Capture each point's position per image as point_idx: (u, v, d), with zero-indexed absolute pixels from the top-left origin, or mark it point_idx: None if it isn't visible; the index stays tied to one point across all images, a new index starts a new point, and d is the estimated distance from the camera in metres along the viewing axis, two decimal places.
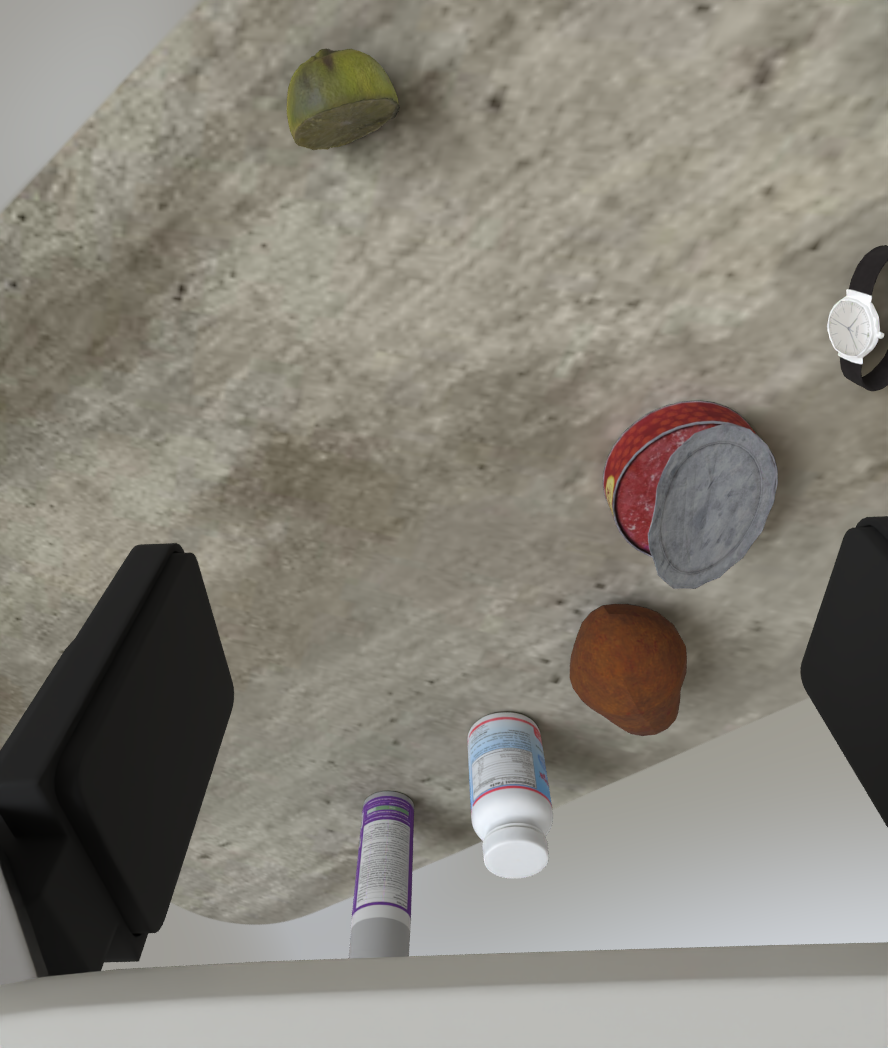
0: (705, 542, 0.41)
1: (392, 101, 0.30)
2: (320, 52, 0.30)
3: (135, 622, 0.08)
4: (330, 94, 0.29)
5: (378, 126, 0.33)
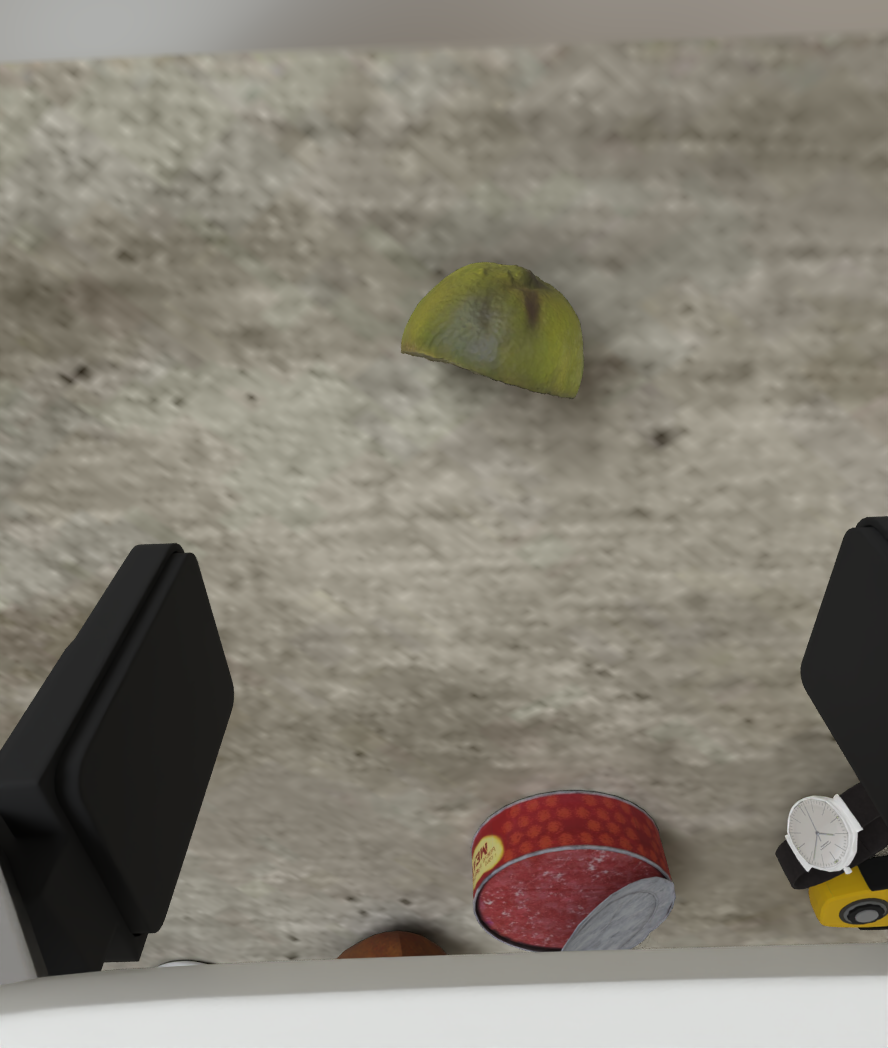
0: None
1: None
2: (522, 275, 0.18)
3: (135, 622, 0.08)
4: (511, 363, 0.17)
5: None
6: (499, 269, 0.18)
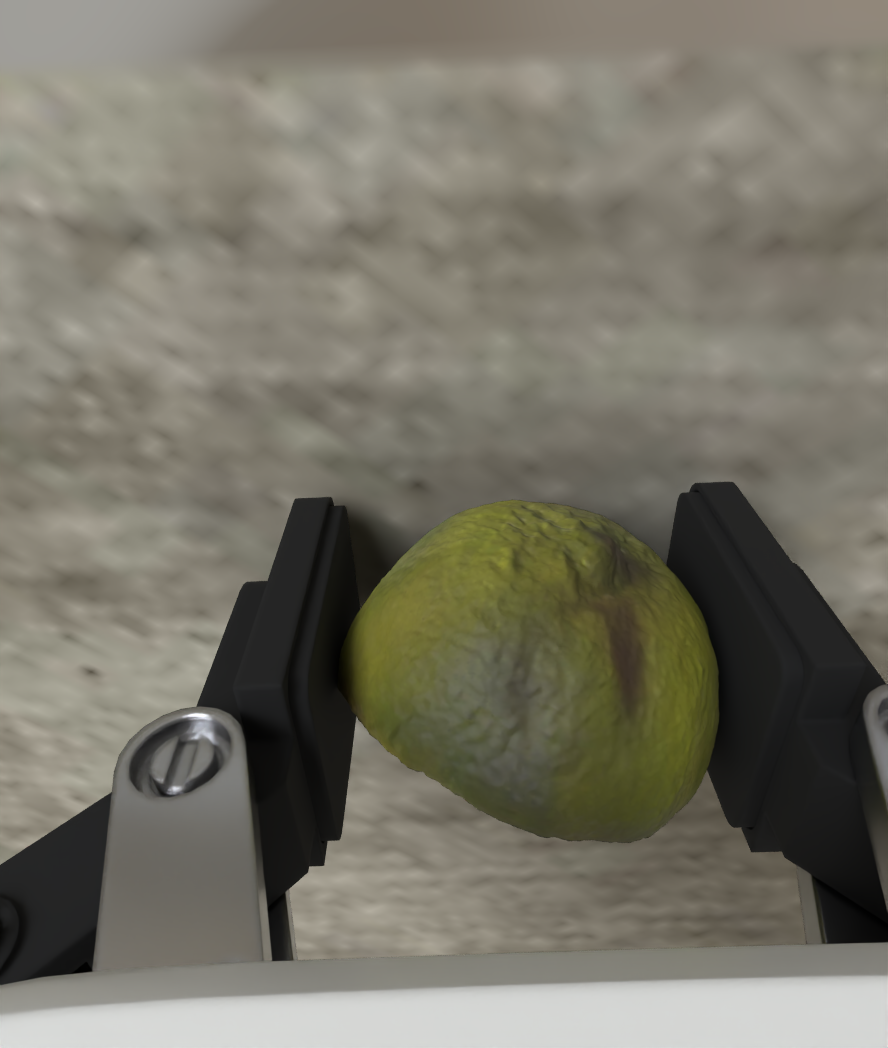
0: None
1: None
2: (597, 561, 0.08)
3: (317, 561, 0.09)
4: (582, 806, 0.07)
5: None
6: (545, 546, 0.08)
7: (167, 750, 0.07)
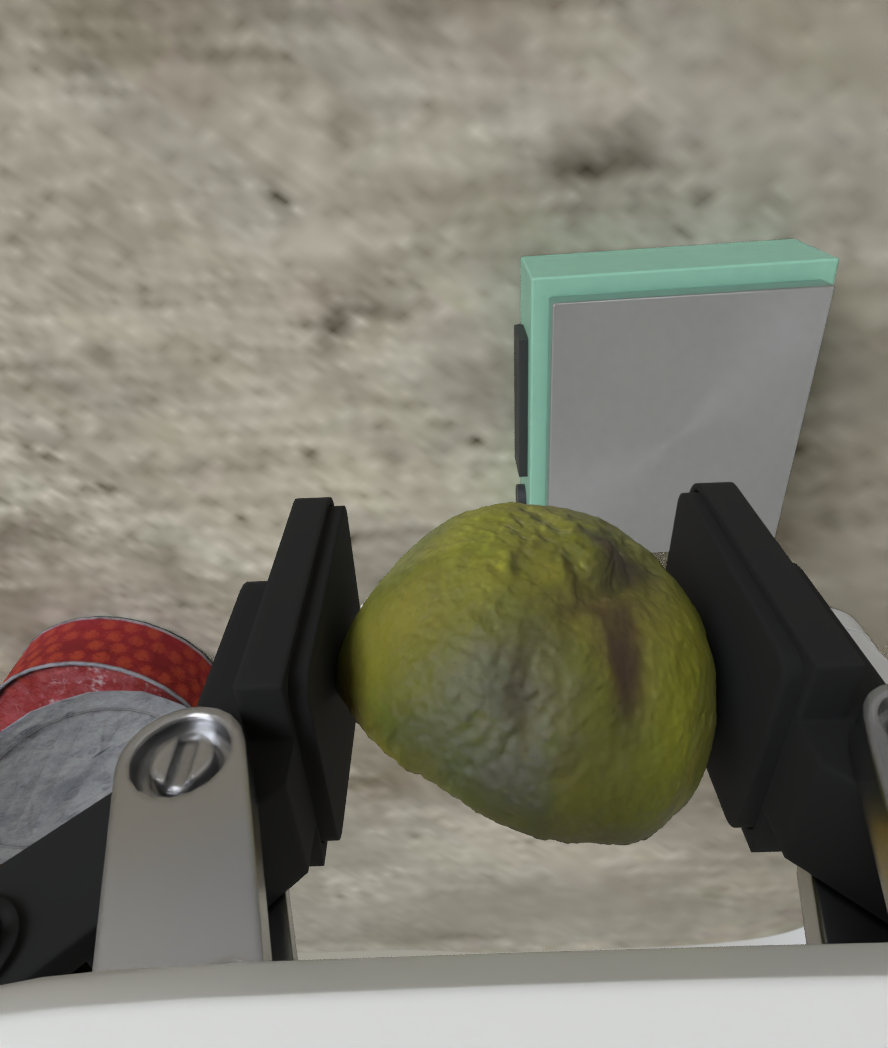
0: (69, 815, 0.30)
1: None
2: (594, 564, 0.08)
3: (317, 561, 0.09)
4: (579, 809, 0.07)
5: None
6: (543, 548, 0.08)
7: (167, 750, 0.07)
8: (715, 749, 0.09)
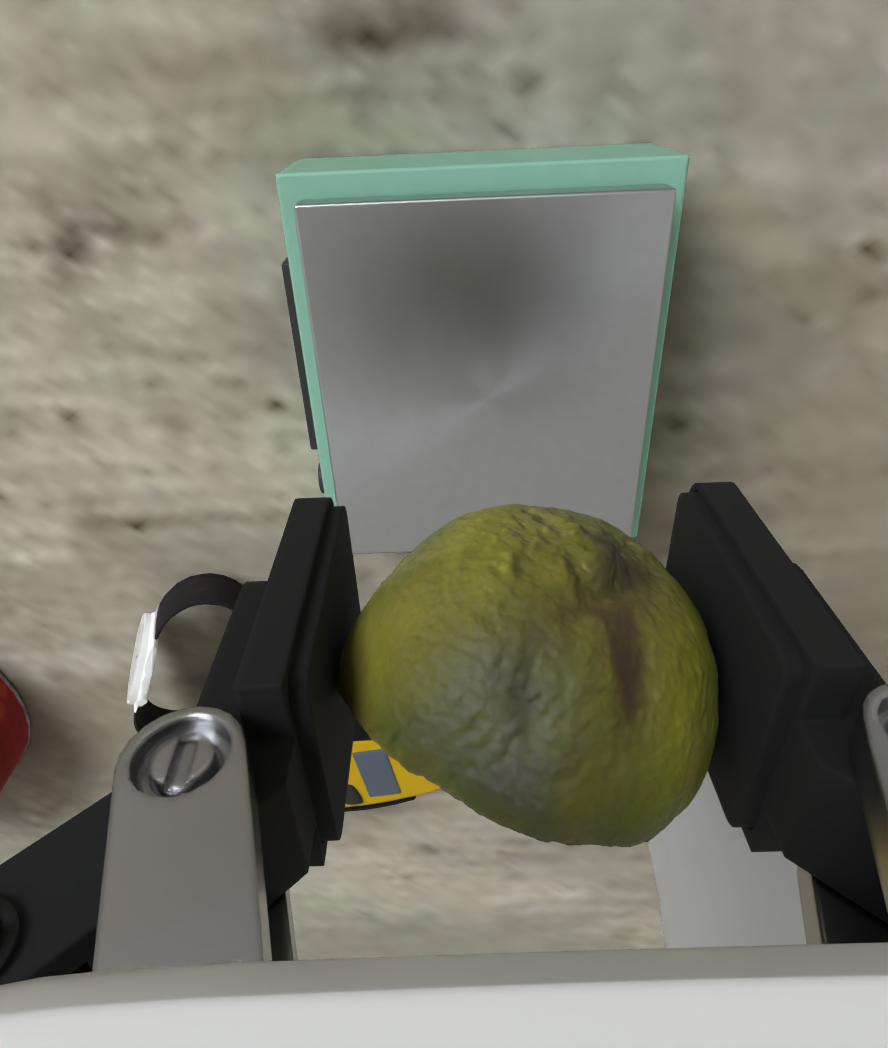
0: None
1: None
2: (596, 566, 0.08)
3: (317, 561, 0.09)
4: (582, 811, 0.07)
5: None
6: (545, 550, 0.08)
7: (167, 750, 0.07)
8: (715, 749, 0.09)
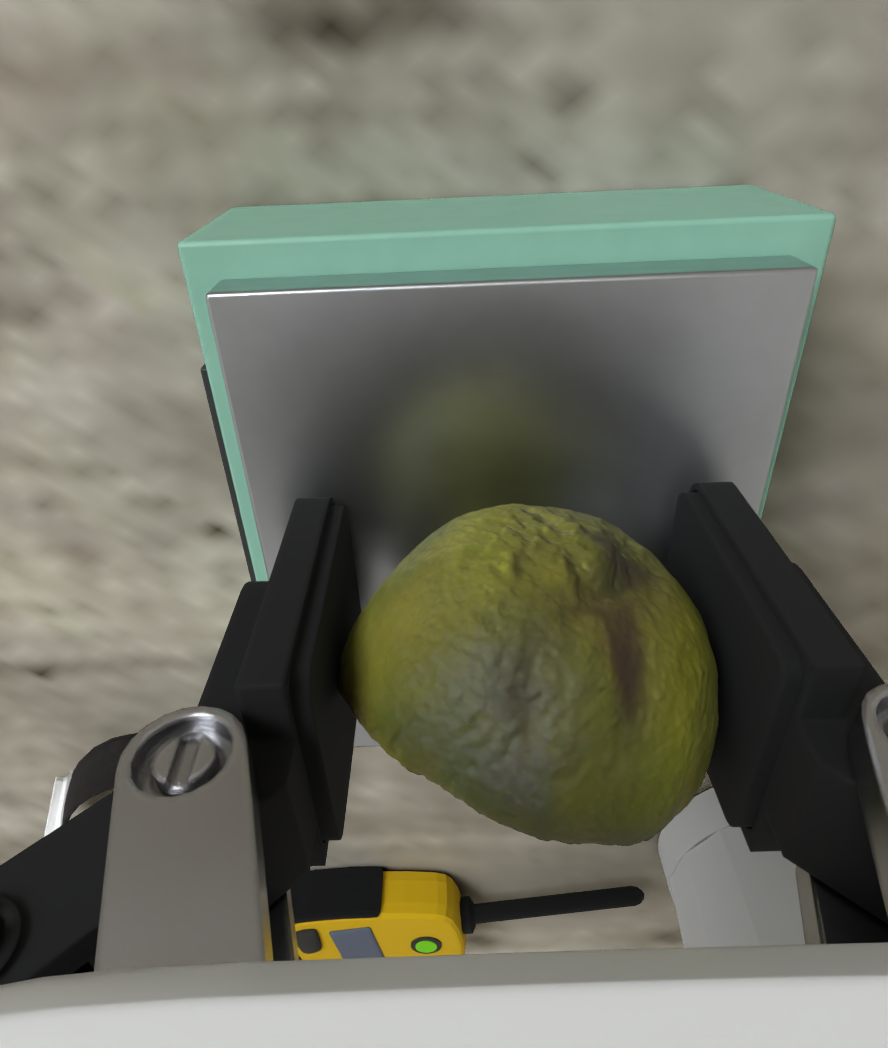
0: None
1: None
2: (597, 565, 0.08)
3: (318, 561, 0.09)
4: (582, 809, 0.07)
5: None
6: (545, 550, 0.08)
7: (169, 750, 0.07)
8: (714, 749, 0.09)
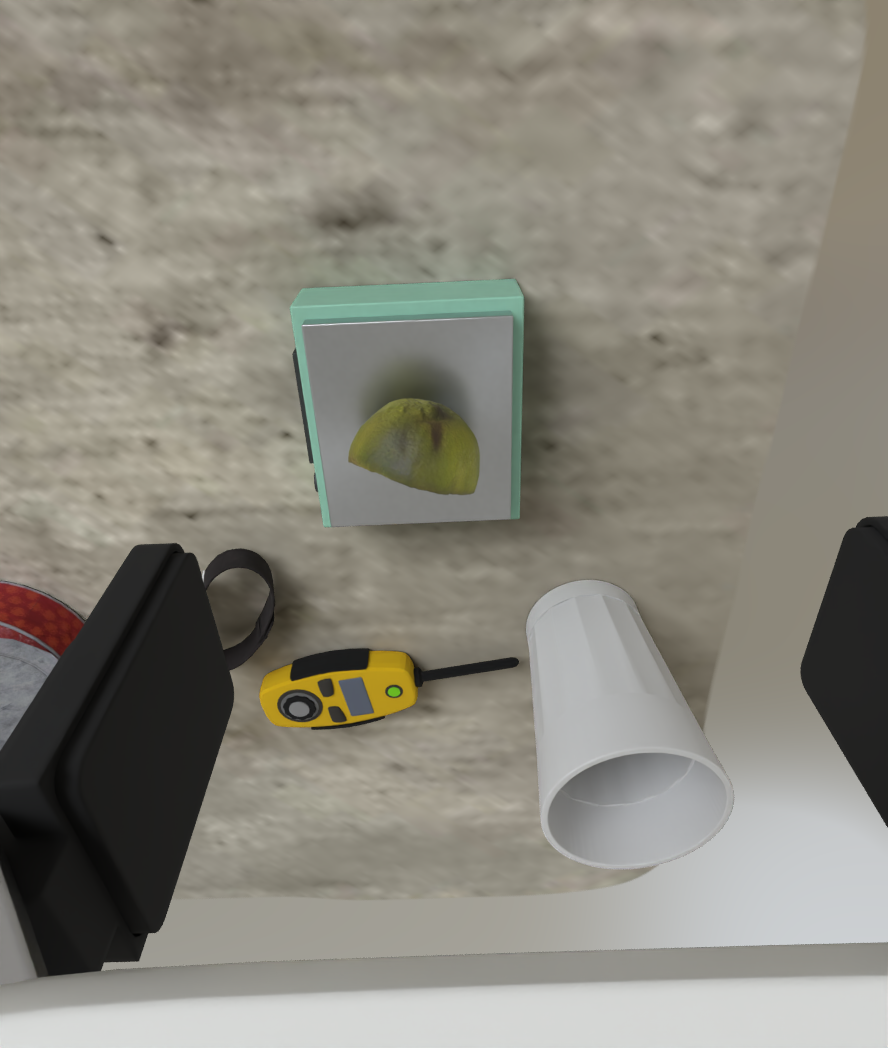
0: None
1: None
2: (431, 411, 0.25)
3: (135, 622, 0.08)
4: (421, 476, 0.24)
5: None
6: (415, 406, 0.25)
7: None
8: None
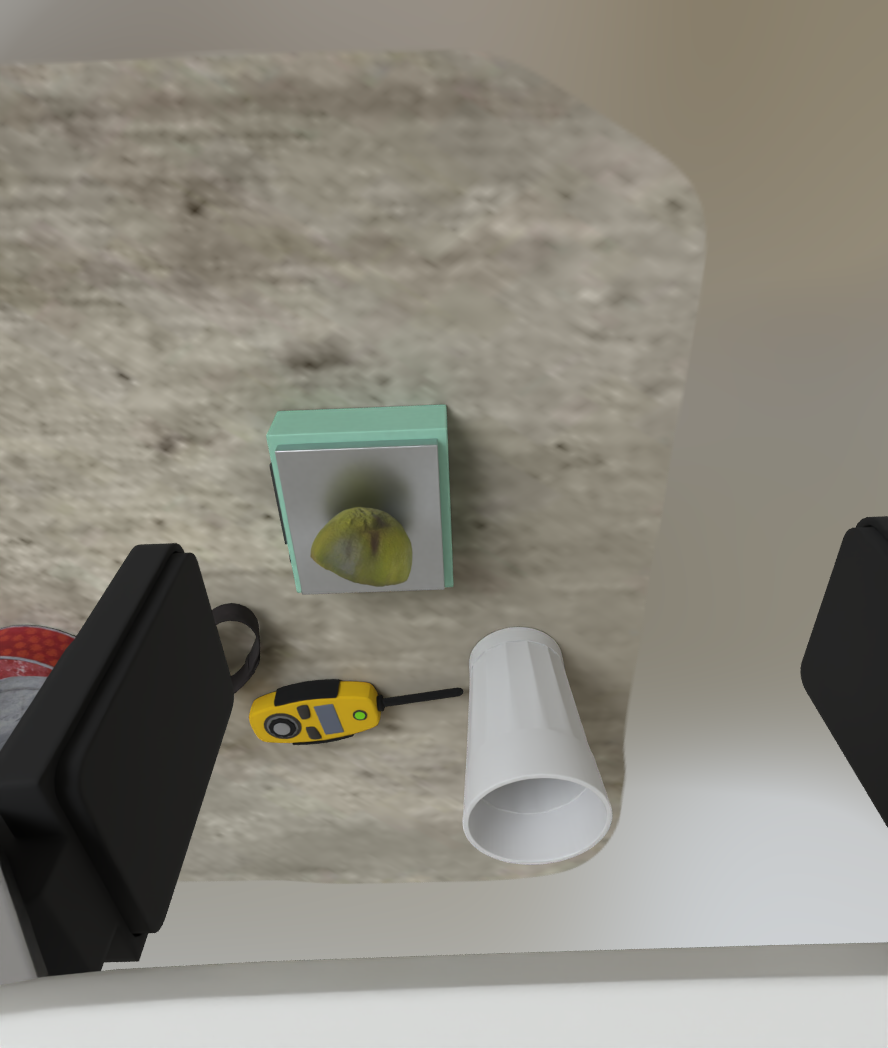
0: None
1: None
2: (372, 522, 0.33)
3: (135, 622, 0.08)
4: (362, 574, 0.32)
5: None
6: (360, 518, 0.33)
7: None
8: None
